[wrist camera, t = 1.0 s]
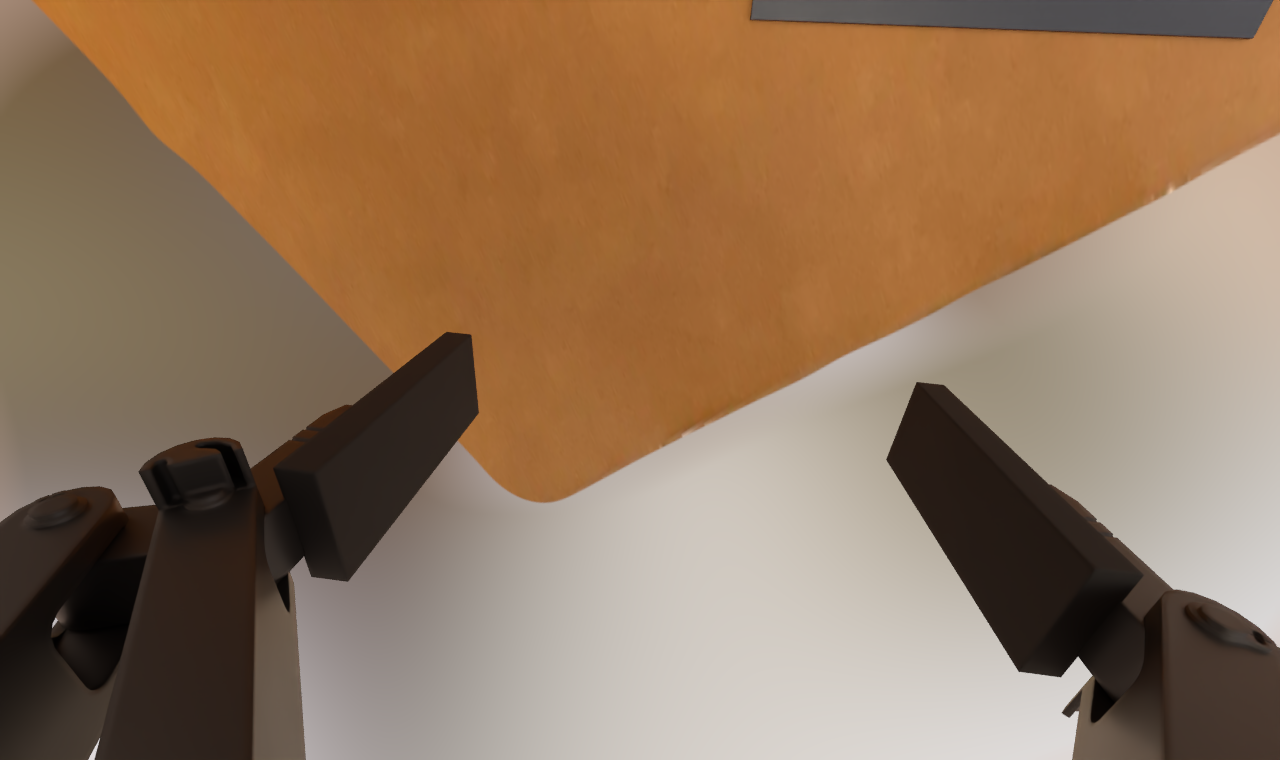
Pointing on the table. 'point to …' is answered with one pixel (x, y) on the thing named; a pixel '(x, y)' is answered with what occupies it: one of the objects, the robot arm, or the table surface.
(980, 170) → the table surface
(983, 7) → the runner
